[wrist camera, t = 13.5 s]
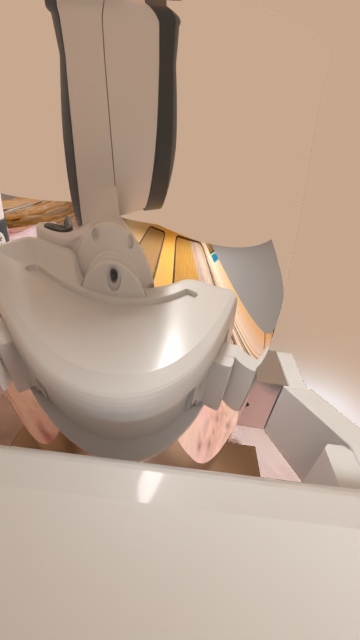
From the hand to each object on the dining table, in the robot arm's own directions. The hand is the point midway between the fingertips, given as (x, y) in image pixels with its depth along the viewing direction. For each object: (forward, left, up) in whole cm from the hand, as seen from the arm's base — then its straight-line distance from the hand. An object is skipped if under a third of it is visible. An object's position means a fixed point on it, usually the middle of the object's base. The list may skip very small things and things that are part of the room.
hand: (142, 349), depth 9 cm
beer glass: (+1, -1, -8) cm, 8 cm away
